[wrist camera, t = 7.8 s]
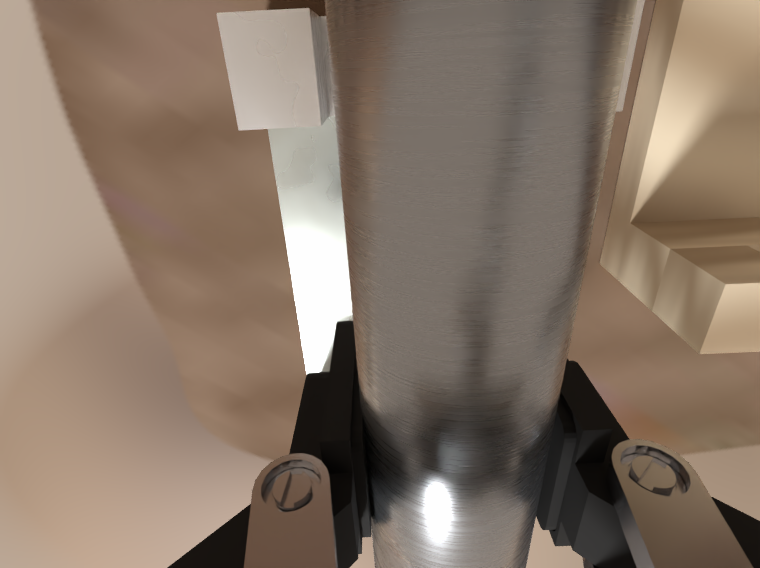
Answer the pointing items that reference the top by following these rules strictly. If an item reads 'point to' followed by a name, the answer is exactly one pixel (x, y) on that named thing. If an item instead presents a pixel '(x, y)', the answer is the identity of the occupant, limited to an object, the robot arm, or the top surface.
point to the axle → (467, 250)
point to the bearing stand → (694, 176)
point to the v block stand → (306, 153)
